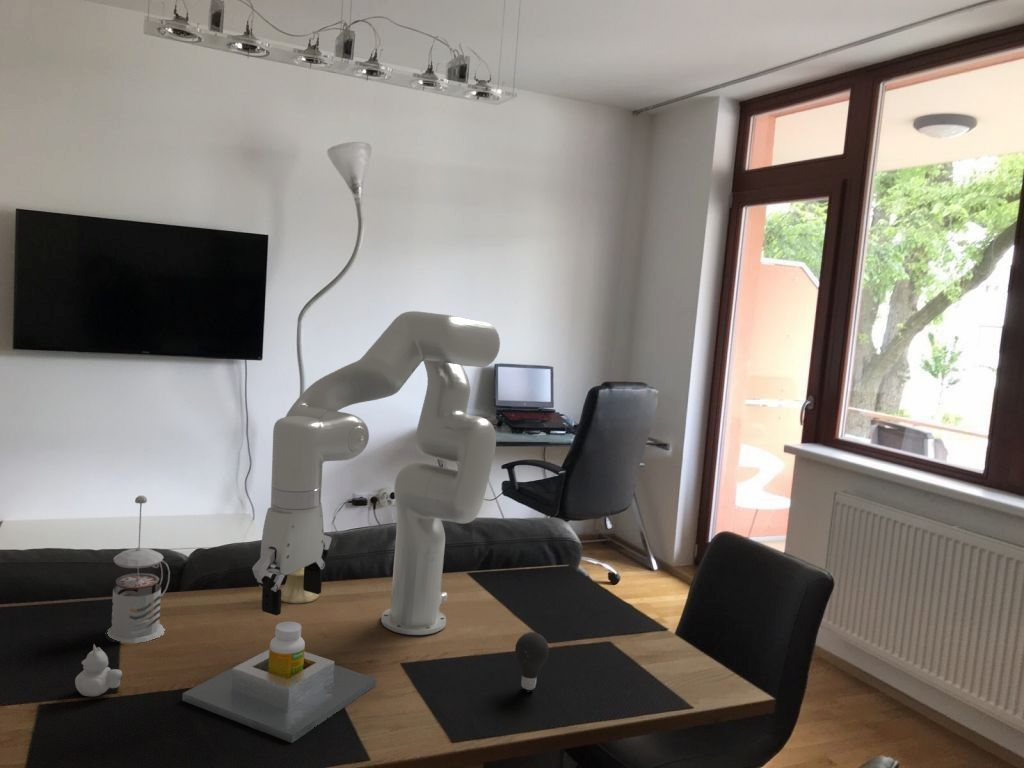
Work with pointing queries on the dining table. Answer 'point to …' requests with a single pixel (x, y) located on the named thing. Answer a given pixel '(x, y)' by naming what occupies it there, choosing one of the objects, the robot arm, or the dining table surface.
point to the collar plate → (273, 714)
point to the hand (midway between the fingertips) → (292, 602)
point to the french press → (137, 623)
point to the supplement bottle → (286, 650)
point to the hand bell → (296, 589)
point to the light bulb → (531, 657)
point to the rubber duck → (97, 674)
